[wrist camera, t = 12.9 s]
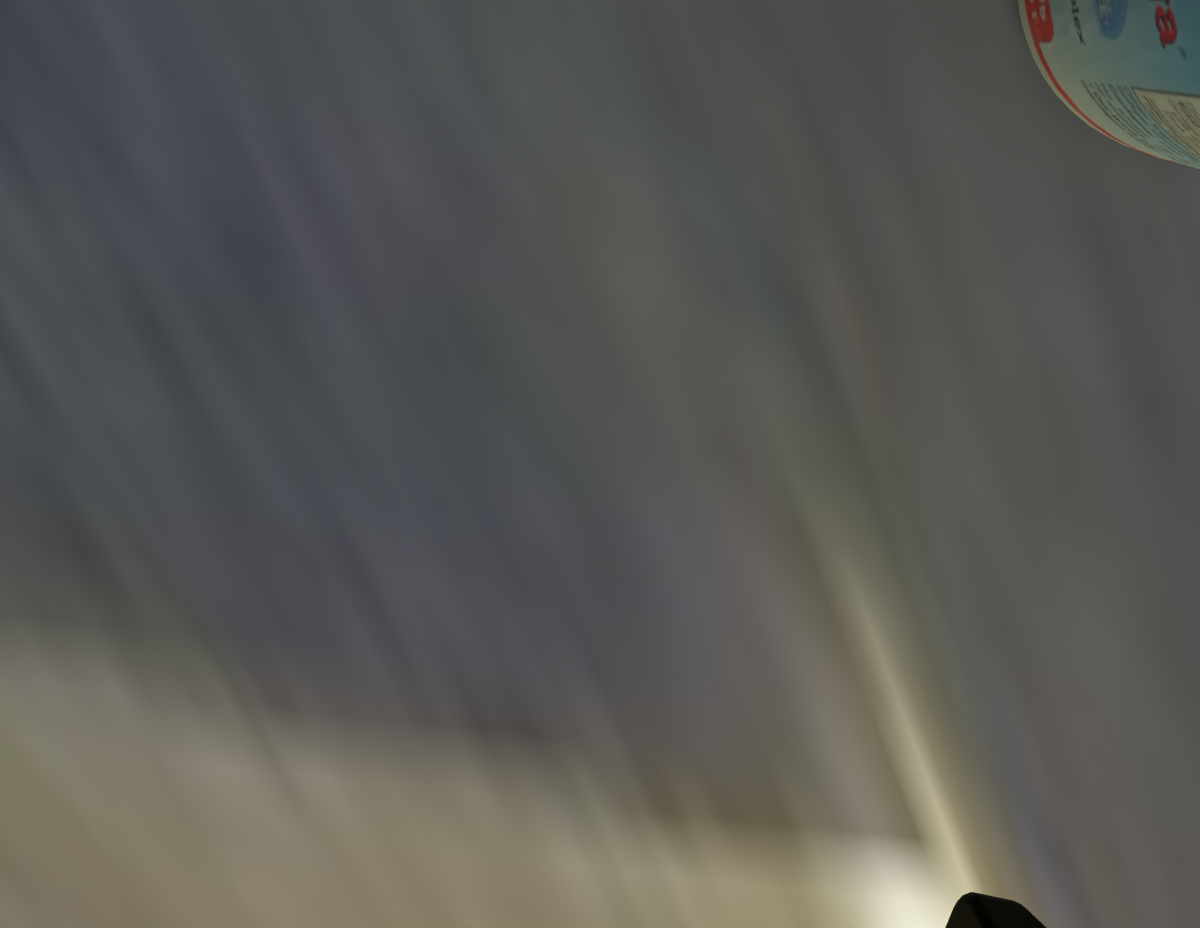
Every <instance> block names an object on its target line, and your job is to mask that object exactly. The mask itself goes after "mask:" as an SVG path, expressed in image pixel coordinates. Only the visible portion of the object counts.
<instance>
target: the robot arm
mask: <svg viewBox="0 0 1200 928" xmlns="http://www.w3.org/2000/svg"><path fill="white" fill-rule="evenodd" d="M946 928H1046V927H1045V926H1044V925H1043V924H1042V923H1041V922H1040V921H1039V920H1038V919H1037V918H1036V917H1035V916H1033V915H1032V914H1031V913H1030V912H1029V911H1028V910H1027V909H1026V908H1025V907H1024V906H1022V905H1021V904H1019V903H1017V902H1015V901H1012V900H1008V899H1003V898H998V897H993V896H989V895H984V894H979V893H974V892H970V893H968V894H965V895H963V896H962V897H961V898H960V899H959V900H958V901H957V903H956V905H955V906H954V908H953V911H952V913H951V915H950V918H949V920H948V923H947V925H946Z"/></svg>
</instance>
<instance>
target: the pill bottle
mask: <svg viewBox="0 0 1200 928" xmlns="http://www.w3.org/2000/svg"><path fill="white" fill-rule="evenodd" d="M1018 6H1019V13H1020V19H1021V24H1022V27H1023V31H1024V34H1025V38H1026V40H1027V43H1028V46H1029V48H1030V51H1031V53H1032V56H1033V59H1034V61H1035V62H1036V64H1037V66H1038V68H1039V70H1040V72H1041V74H1042V76H1043V77H1044V78H1045V80H1046V81H1047V83H1048V84H1049V86H1050V87H1051V88H1052V90H1053V91H1054V93H1055V94H1056V95H1057V96H1058V97H1059V98H1060V99H1061V100H1062V101H1063V102H1064V104H1065V105H1066V106H1067V107H1068V108H1069V109H1070V110H1071V111H1072V112H1073V113H1075V114H1076V115H1077V116H1078V117H1079V118H1081V119H1082V120H1083V121H1084V122H1086V123H1087V124H1088V125H1089V126H1091V127H1092V128H1094V129H1096V130H1097V131H1099V132H1101V133H1102V134H1104V135H1106V136H1107V137H1109V138H1111V139H1113V140H1115V141H1117V142H1119V143H1120V144H1123V145H1125V146H1128V147H1130V148H1133V149H1135V150H1138V151H1141V152H1143V153H1146V154H1149V155H1151V156H1154V157H1157V158H1161V159H1165V160H1168V161H1172V162H1177V163H1181V164H1184V165H1188V166H1192V167H1195V168H1198V169H1200V0H1018Z"/></svg>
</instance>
